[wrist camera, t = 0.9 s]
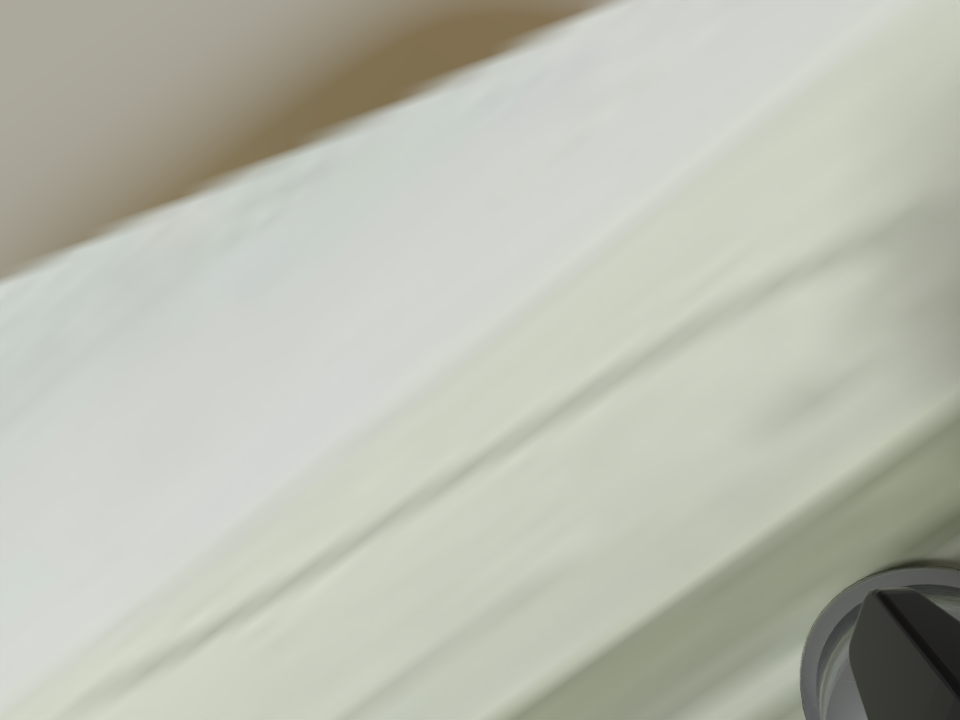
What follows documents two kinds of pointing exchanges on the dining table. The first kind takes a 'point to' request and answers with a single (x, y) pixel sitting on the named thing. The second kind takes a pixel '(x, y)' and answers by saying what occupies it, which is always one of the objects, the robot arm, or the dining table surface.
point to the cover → (826, 650)
